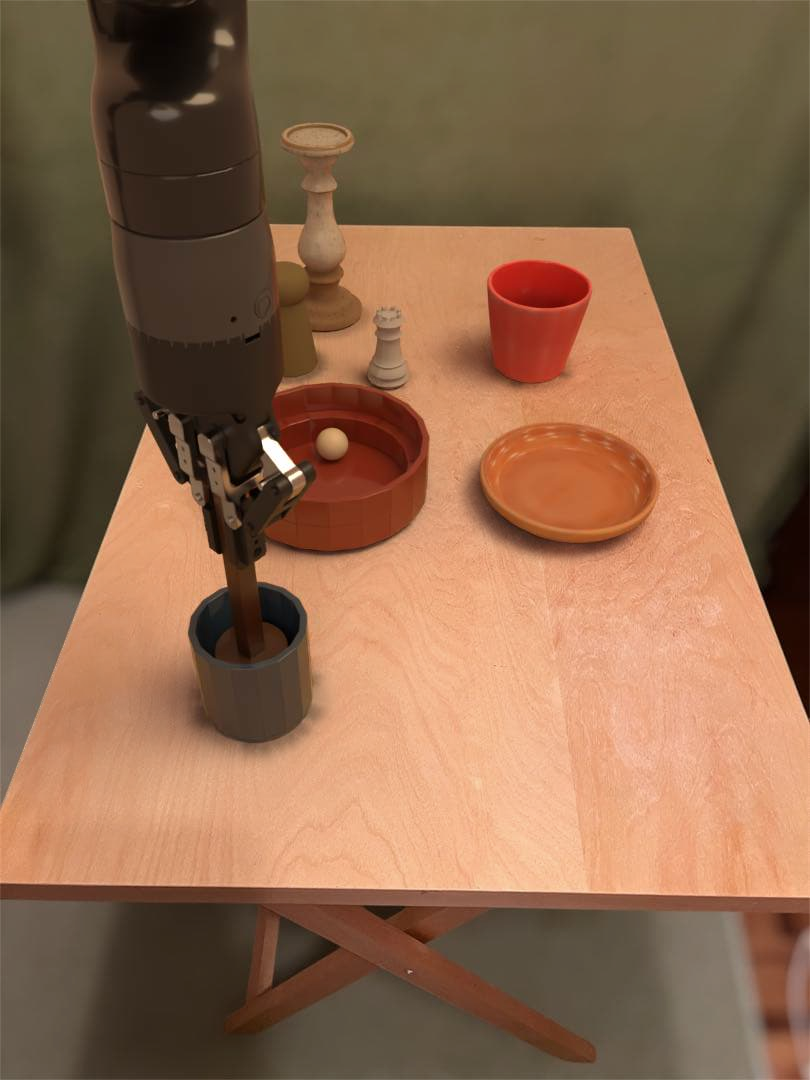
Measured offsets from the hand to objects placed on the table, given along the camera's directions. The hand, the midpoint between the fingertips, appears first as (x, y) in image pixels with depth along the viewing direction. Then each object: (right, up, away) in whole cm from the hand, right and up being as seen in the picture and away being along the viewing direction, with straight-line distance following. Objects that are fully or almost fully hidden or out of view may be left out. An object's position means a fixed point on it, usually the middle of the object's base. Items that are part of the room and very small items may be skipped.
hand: (238, 552), depth 56 cm
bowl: (+4, +5, +27) cm, 28 cm away
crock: (0, -11, +10) cm, 15 cm away
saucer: (+25, +4, +27) cm, 37 cm away
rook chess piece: (+8, +18, +41) cm, 45 cm away
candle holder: (+1, +27, +51) cm, 58 cm away
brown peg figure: (-2, +20, +43) cm, 48 cm away
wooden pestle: (0, -10, +10) cm, 14 cm away
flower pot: (+24, +20, +44) cm, 54 cm away
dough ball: (+3, +10, +29) cm, 31 cm away
